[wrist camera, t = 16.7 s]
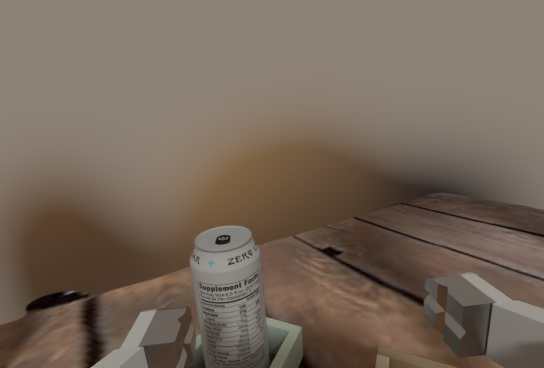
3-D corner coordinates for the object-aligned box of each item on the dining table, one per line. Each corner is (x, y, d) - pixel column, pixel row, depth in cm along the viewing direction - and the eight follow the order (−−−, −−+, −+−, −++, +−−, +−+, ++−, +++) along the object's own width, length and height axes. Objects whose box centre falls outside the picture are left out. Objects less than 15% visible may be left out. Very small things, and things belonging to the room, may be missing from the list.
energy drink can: (268, 350, 30) (257, 220, 27) (273, 406, 24) (260, 248, 21) (212, 357, 30) (194, 226, 26) (203, 415, 24) (178, 256, 20)
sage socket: (228, 331, 33) (225, 306, 33) (303, 355, 29) (301, 327, 28) (169, 403, 25) (164, 372, 24) (262, 451, 21) (258, 415, 20)
